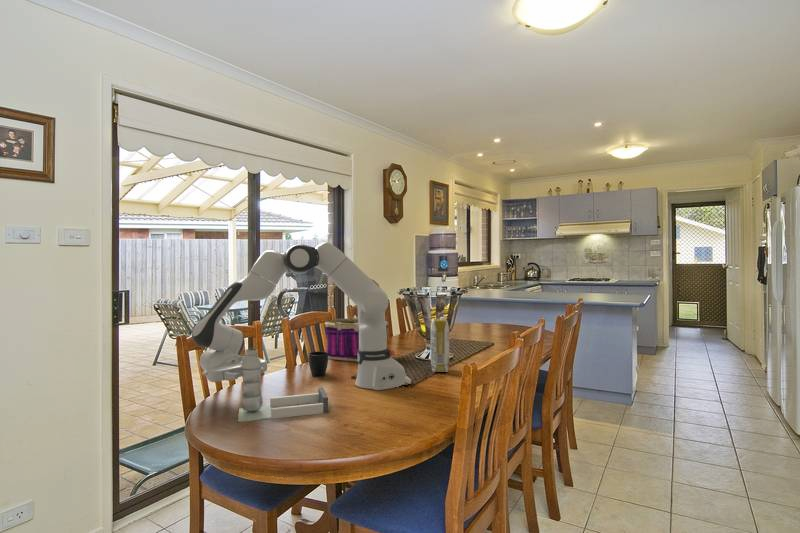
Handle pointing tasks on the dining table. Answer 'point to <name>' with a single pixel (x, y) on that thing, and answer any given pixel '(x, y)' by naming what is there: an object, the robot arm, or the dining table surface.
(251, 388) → the plastic bottle
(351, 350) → the basket
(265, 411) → the pad
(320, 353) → the mug
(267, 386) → the dining table surface
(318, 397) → the channel
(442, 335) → the juice carton
